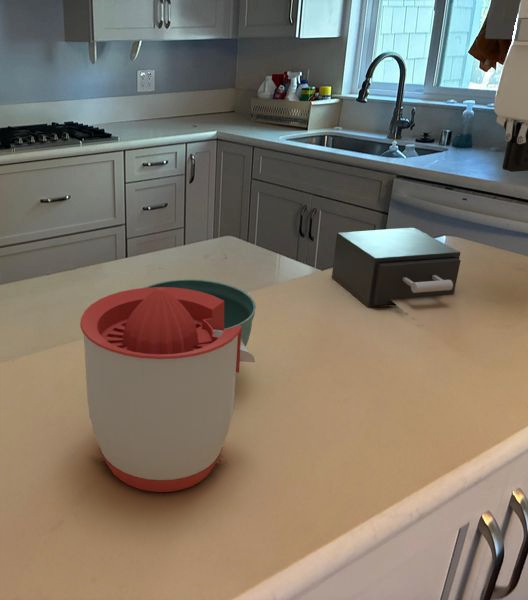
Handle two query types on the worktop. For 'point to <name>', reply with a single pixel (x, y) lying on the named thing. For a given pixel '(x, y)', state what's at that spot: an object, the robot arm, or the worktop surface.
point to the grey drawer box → (380, 256)
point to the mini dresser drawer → (415, 279)
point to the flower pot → (235, 300)
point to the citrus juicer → (161, 383)
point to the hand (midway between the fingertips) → (515, 169)
